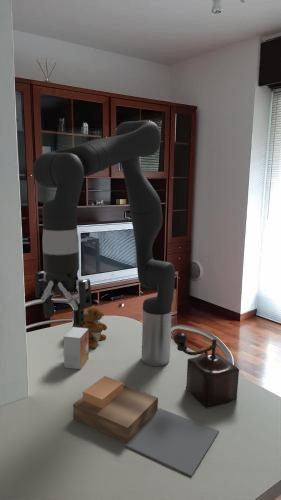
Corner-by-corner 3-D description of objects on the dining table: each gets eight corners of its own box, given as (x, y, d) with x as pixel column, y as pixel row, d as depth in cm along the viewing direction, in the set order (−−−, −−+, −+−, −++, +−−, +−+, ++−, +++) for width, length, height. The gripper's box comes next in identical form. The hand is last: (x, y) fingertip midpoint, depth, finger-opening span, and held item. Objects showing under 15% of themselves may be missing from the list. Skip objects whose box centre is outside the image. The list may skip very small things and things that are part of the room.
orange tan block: (104, 384, 100) (104, 375, 99) (123, 390, 97) (123, 382, 96) (82, 400, 92) (82, 391, 92) (102, 408, 89) (102, 399, 89)
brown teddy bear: (96, 350, 128) (96, 314, 126) (63, 341, 134) (62, 307, 132) (111, 339, 137) (111, 305, 135) (79, 331, 143) (78, 299, 141)
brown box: (107, 392, 103) (107, 378, 102) (157, 411, 95) (158, 397, 94) (73, 418, 91) (73, 404, 91) (127, 443, 83) (127, 427, 83)
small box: (80, 370, 115) (80, 338, 113) (63, 368, 116) (63, 336, 114) (89, 358, 122) (89, 328, 120) (73, 356, 124) (72, 326, 122)
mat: (159, 409, 96) (159, 408, 96) (218, 432, 88) (218, 430, 88) (125, 446, 83) (125, 444, 82) (191, 477, 74) (191, 475, 74)
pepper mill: (213, 380, 111) (217, 323, 107) (238, 400, 101) (242, 338, 97) (168, 391, 104) (170, 331, 101) (189, 414, 94) (192, 348, 91)
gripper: (98, 250, 79) (99, 321, 82) (49, 243, 86) (51, 309, 89) (74, 256, 73) (76, 334, 76) (23, 248, 80) (27, 319, 83)
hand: (63, 320), depth 83 cm, fingers open, 8 cm apart
